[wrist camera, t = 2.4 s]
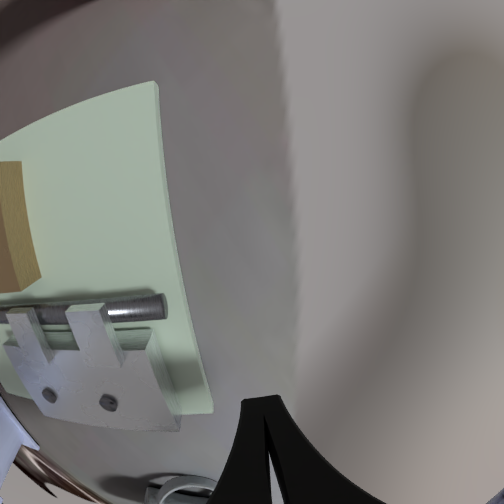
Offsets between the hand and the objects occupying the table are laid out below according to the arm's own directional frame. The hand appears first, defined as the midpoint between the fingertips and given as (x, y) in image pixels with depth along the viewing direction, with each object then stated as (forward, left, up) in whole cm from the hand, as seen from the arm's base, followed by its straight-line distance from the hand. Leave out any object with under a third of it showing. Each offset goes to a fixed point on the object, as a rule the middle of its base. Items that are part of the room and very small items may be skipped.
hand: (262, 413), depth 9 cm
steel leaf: (-9, +1, -3) cm, 9 cm away
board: (-11, +5, -4) cm, 13 cm away
